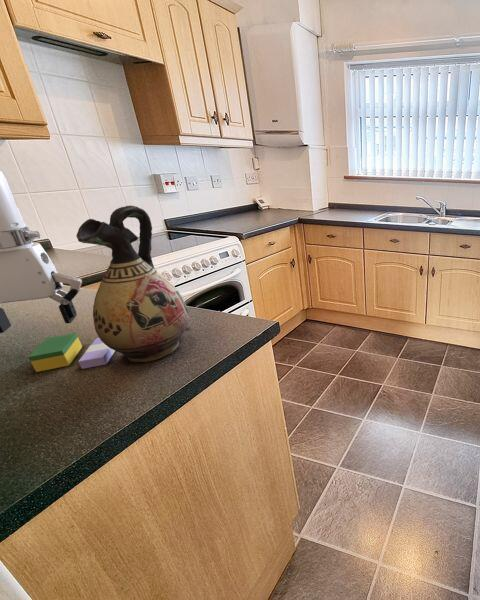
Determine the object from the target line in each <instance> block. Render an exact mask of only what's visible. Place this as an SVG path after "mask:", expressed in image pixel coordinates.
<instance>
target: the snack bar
mask: <svg viewBox="0 0 480 600" xmlns="http://www.w3.org/2000/svg"><path fill="white" fill-rule="evenodd" d="M115 352H116V351H115V350H113V349H111V348H109V347H108V346H106V345H105V344H104V343H103V342H102V341H101V340H100V338H99V337H96V338H95V339H94V340H93V341H92V343H91V344H90V345H89V346H88V348H87V349H86V350H85V351H84V353H83V355H82V356H81V357H80V358H79V360H78V362H77V363H78V364H79V366H80V368H81V370H84V369H89V368H94V367H100V366H104V365H108V363H109V361H110V359H111V358H112V356H113V355H114V354H115Z"/></svg>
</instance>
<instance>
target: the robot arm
mask: <svg viewBox="0 0 480 600" xmlns="http://www.w3.org/2000/svg"><path fill="white" fill-rule="evenodd" d="M35 239H36V240H37V239H41V234H40V232H39V231H37V230H30V228H29V227H28V226H27V225H26V223H25V221H24V219H23V216H22V214H21V211H20V209H19V207H18V204H17V202H16V199H15V198H14V194H13V192H12V190H11V187H10V185H9V183H8V180H7V178H6V176H5V174H4V173H3V171H2V170H0V304H6V303H16V302H25V301H33V300H41V299H47V298H49V299H51V300H53V301H55V302H57V303H59V305H58V309H59V312H60V314H61V317H62V319H63V322H64V323H65V324H71V323H72V322H73V321H74V320H75V319H76V317H77V316H78V315H77V314H78V313H77V310H76V307H75V305H74V303H73V300H74V299H75V298H76V296H77V295H78V294H79V292H80V289H81V287H82V284H83V280H82V278H79V277H76V276H70V275H67V274H63V273H59V272H58V270H57V269H56V266H55V265H54V263H53V261H52V259H51V257H49V255H48V253H47V252H46V250H45V249H44V247H43V246H42V245H41V243H40V242H34V240H35ZM64 284H65V285H69V286H70V288H69V290H68V292H67V291H65V290H63V288H64ZM11 327H12V324H11V322H10V320H9V317H8V315H7V313H6V311H5V309H4V308H2V307H0V334H4V333H5V332H6V331H7V330H8V329H10V328H11Z"/></svg>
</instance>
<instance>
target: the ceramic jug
mask: <svg viewBox="0 0 480 600" xmlns="http://www.w3.org/2000/svg"><path fill="white" fill-rule="evenodd" d="M128 218H132V219H136V220H138V223H139V237H138V236H137V235H136V234H135V233H134V232H133V231H132V230H131V229H129V228H128V227H125V224H124V222H125V220H126V219H128ZM152 237H153V224H152V220H151V217H150V216H149V214H148V213H147V212H146V211H145V210H144V209H143V208H141V207H139V206H136V205H125V206H121V207H118V208H116V209H115V210H113V211H112V212H111V214H110V217H109V223H107V222H105V221H99V220H96V219H95V218H88V219H86V220H84V222H82V223H81V225H80V226H79V227H78V230H77V233H76V239H77V242H79V243H82V244H89V245H97V246H103V247H106V248H108V249H110V250H111V257H112V258H111V260H110V262H109V265H108V267H107V269H106V271H105V273H104V274H103V276H102V279H101V281H100V283H99V286H98V289H97V291H96V293H95V296H94V301H93V306H92V318H93V327H94V330H95V333H96V334H97V337H98V338H100V340H101V341H102V342H103V343H104V344H105V345H106V346H108V347H109V348H111V349H113V350H115V352H117V353H119V354H122V355H124V356H125V357H126V358H127V360H128V362H130V363H136V362H137V363H147V362H152V361H155V360H159V359H162V358H163V357H166V356H168V355H170V354H171V353H173V352H175V350H177V348H178V347H179V344H180V342H179V341H180V338H181V337H182V335H183V334H184V332H185V331H186V330H187V327H188V324H189V320H190V319H189V310H188V306H187V303H186V301H185V300H184V298H183V296H182V294H181V292H180V291H179V290H178V289H177V288H176V286H175V285H174V284H173V283H172V282H171V281H170V280H168V278H167V277H165V276H164V275H163V274H162V273H161V272H159V271H158V270H157V269H156V268H155V265H154V263H153V259H152V258H153V257H152V255H151V254H152V250H153V249H152V239H153V238H152ZM136 241H139V244H138V252H137V251H136V250H135V248H134V247H133V245H132V243H135V242H136Z"/></svg>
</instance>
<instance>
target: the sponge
mask: <svg viewBox="0 0 480 600" xmlns="http://www.w3.org/2000/svg"><path fill="white" fill-rule="evenodd" d="M82 348H83V345H82V343H81V340H80V339H79V336H78V333H77V332H73V333H68V334H62V335H57V336H56V335H55V336H51V337H45V338H44V339H43V340H42V342H40V344H38V346H37V347H36V348H35V349H34V350H33V351H32V352H31V354H29V355H28V356H27V358H28V360H29V361H30V363H31V365H32V367H33V369H34V371H35V372H36V373H38V372H44V371H49V370H53V369H54V370H55V369H58V368H63V367H68V366H70V365H71V364H72V362H73V361H74V359H75V358H76V357H77V355H78V354H79V352H80V351H81V350H82Z"/></svg>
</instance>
